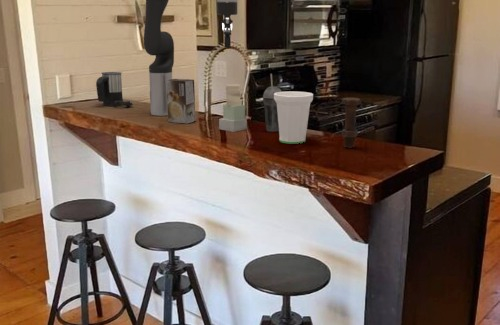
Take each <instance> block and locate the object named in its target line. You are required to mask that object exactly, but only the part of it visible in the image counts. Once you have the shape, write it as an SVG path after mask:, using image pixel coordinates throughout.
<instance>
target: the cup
mask: <svg viewBox="0 0 500 325" xmlns="http://www.w3.org/2000/svg"><path fill="white" fill-rule="evenodd" d="M274 100H275V102H276V103H277V113H278V124H279V131H278V134H279V135H278V136H279V138H278V139H279V142H280V143H283V144H288V145H298V144H299V143H300V144H303V142H304V143H306V135H307V129H308V123H309V122H308V121H309V116H310V107H311V103H312V102H313V100H314V93H312V92H307V91H291V90H290V91H282V92H277V93H275V94H274Z"/></svg>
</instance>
